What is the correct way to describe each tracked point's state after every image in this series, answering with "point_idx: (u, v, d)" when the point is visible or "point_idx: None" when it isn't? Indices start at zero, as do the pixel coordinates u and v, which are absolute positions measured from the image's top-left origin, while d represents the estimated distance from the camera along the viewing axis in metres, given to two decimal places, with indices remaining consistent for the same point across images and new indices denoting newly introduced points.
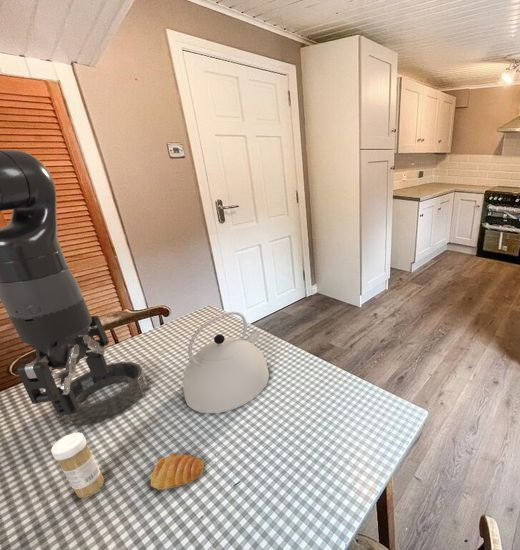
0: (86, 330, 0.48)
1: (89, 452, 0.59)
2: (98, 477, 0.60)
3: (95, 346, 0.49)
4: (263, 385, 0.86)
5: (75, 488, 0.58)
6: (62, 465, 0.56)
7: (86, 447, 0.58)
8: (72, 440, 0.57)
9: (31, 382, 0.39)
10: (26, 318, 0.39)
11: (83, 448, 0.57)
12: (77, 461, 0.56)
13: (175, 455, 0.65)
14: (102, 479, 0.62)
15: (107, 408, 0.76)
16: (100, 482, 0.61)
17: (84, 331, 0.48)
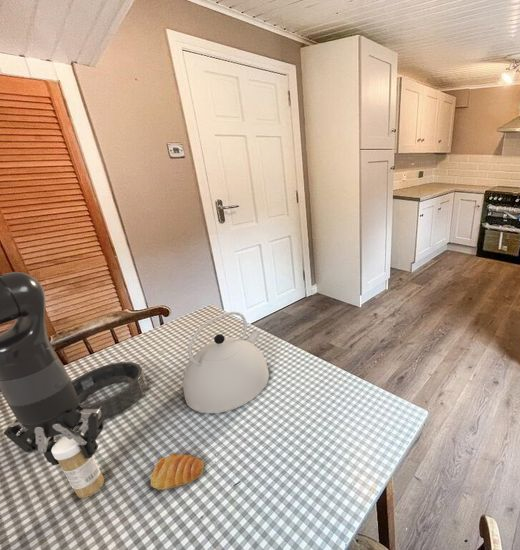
0: (72, 418, 0.54)
1: None
2: (98, 477, 0.60)
3: (67, 435, 0.54)
4: (263, 385, 0.86)
5: (75, 488, 0.58)
6: (62, 465, 0.56)
7: None
8: (72, 440, 0.57)
9: None
10: None
11: None
12: (77, 461, 0.56)
13: (175, 455, 0.65)
14: (102, 479, 0.62)
15: (107, 408, 0.76)
16: (100, 482, 0.61)
17: (68, 418, 0.54)
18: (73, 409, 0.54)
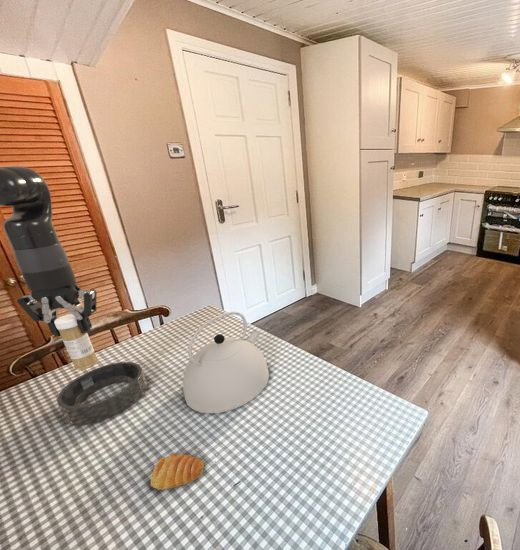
0: (71, 294, 0.67)
1: None
2: (91, 353, 0.74)
3: (67, 308, 0.68)
4: (263, 385, 0.86)
5: (73, 358, 0.72)
6: (63, 335, 0.69)
7: None
8: (71, 316, 0.70)
9: None
10: None
11: None
12: (75, 333, 0.70)
13: (175, 455, 0.65)
14: (95, 357, 0.75)
15: (107, 408, 0.76)
16: (93, 358, 0.74)
17: (68, 294, 0.67)
18: (72, 286, 0.67)
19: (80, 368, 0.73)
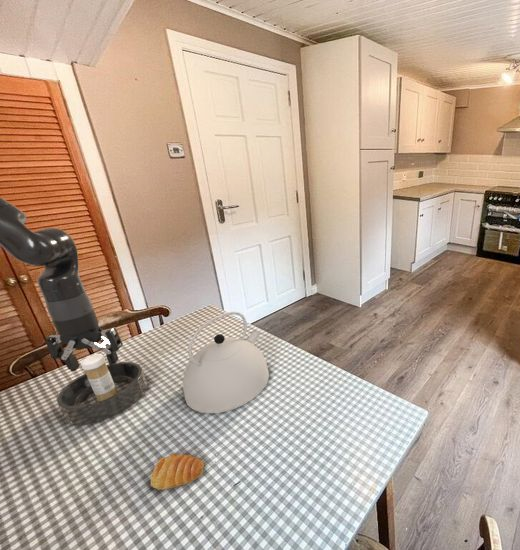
0: (95, 336, 0.75)
1: (107, 368, 0.81)
2: (113, 388, 0.82)
3: (95, 347, 0.76)
4: (263, 385, 0.86)
5: (97, 394, 0.80)
6: (88, 374, 0.78)
7: (105, 364, 0.80)
8: (95, 357, 0.79)
9: None
10: None
11: (103, 364, 0.79)
12: (99, 372, 0.78)
13: (175, 455, 0.65)
14: (116, 391, 0.84)
15: (107, 408, 0.76)
16: (114, 393, 0.83)
17: (92, 336, 0.75)
18: (96, 329, 0.75)
19: None
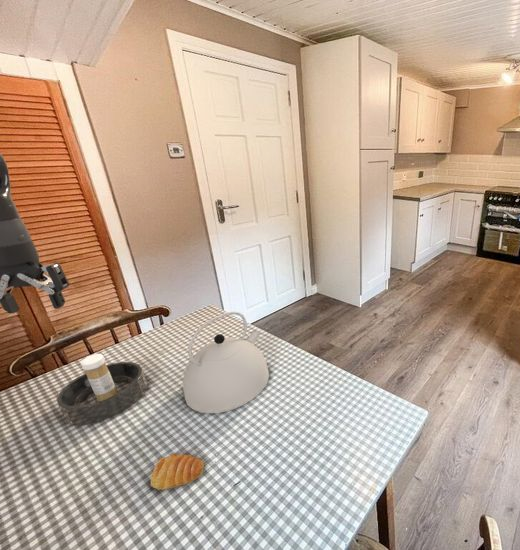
0: (34, 271, 0.66)
1: (107, 368, 0.81)
2: (113, 388, 0.82)
3: (34, 284, 0.66)
4: (263, 385, 0.86)
5: (97, 394, 0.80)
6: (88, 374, 0.78)
7: (105, 364, 0.80)
8: (95, 357, 0.79)
9: None
10: None
11: (103, 364, 0.79)
12: (99, 372, 0.78)
13: (175, 455, 0.65)
14: (116, 391, 0.84)
15: (107, 408, 0.76)
16: (114, 393, 0.83)
17: (31, 271, 0.65)
18: (34, 264, 0.65)
19: None
